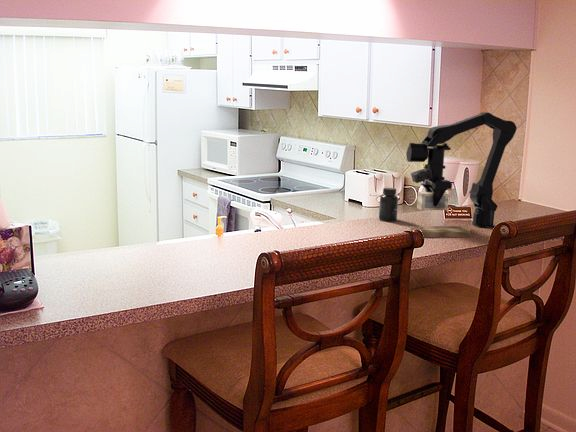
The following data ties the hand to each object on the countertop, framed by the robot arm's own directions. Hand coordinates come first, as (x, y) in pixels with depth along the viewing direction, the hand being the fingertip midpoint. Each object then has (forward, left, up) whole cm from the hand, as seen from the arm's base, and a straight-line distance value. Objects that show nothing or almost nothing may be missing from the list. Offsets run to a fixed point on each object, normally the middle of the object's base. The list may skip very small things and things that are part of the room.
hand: (432, 204), depth 247 cm
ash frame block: (0, 0, -2) cm, 2 cm away
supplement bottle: (+13, -11, -8) cm, 19 cm away
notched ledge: (+2, +13, -8) cm, 15 cm away
